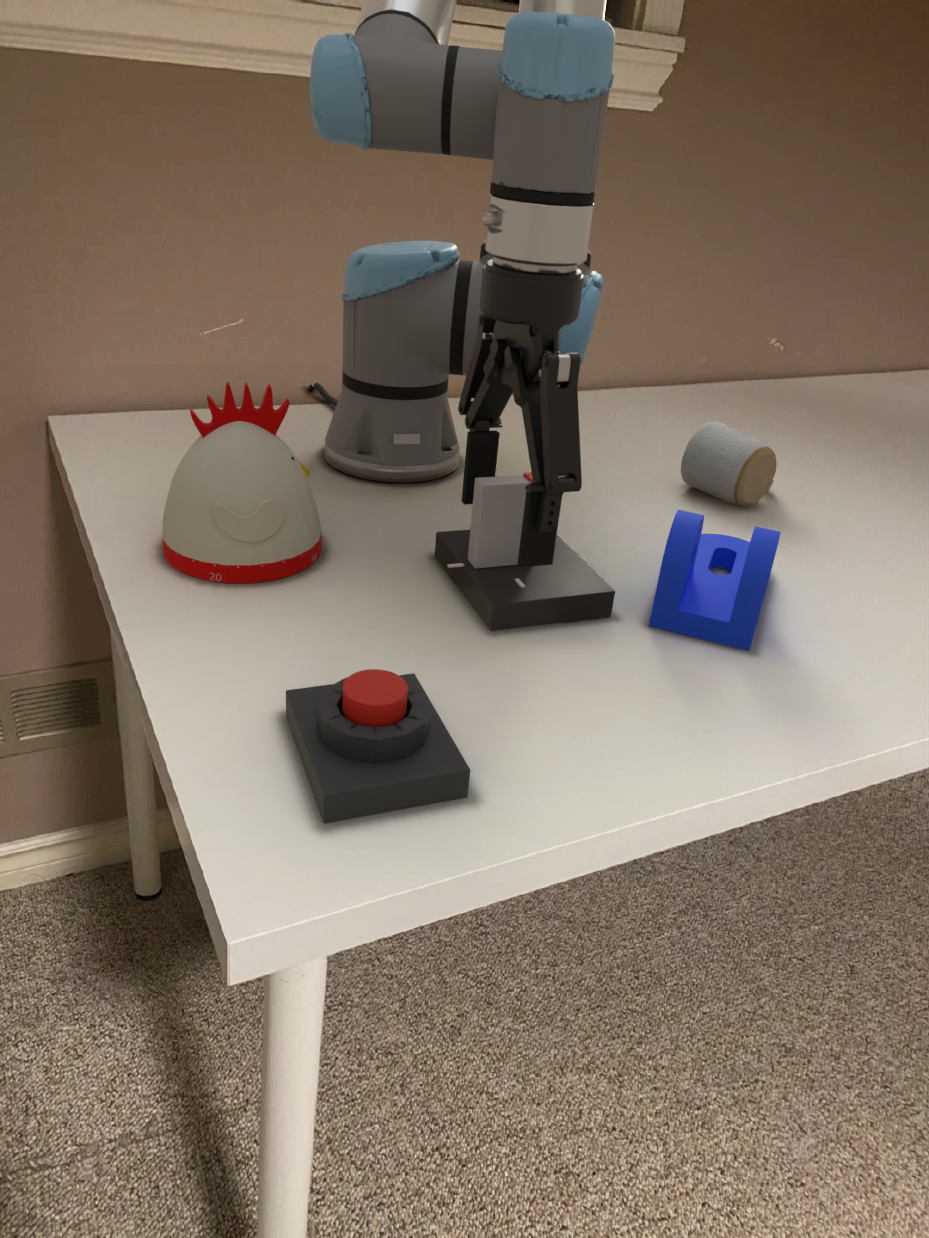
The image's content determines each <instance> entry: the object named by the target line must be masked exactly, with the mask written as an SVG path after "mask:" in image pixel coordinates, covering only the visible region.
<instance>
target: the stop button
mask: <svg viewBox="0 0 929 1238" xmlns="http://www.w3.org/2000/svg"><path fill="white" fill-rule="evenodd" d="M399 675H400V674H397V673H395V672H392V671H390V670H385V669H379V668H377V669H375V668H374V669H373V668H372V669H371V668H370V669H363V670H359V671H356V672H353V673H352V674H350V675H349V676H347V677H348V678H347V677H346V678H347V679H346V680H345V682H344V684H343V701H342V710H343V713H344V715H345V717H346V718H347V719H348V720H350V721H352V722H353V723H355V724H358V725H364V726H370V727H381V726H387V725H394V724H396V723H398V722H400V721H401V720H402V719H403V718H404V716H405V715H406V711H407V696H408V686H407V683H406V682H405V680H404V679H403V678H402V677H400V676H399Z"/></svg>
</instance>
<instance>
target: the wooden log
mask: <svg viewBox="0 0 929 1238" xmlns="http://www.w3.org/2000/svg"><path fill="white" fill-rule="evenodd" d="M680 464H681V465H680V475H681V476H680V477H681V478H682V481H683V482H684V483H685V484H686V485H688V486H689V487H691V488H694V489H696V490H698V491H701V492H703V493H705V494H707V495H709V496H713V497H715V498H718V499H720V500H722V501H725V502H726V503H729V504H732V505H735V506H740V507H748V506H750V505H753V504H755V503H756V502H758V501H760V499H761V498H762V497H763V496H764V495H765V494H766V493H768V492H769V491H770V489H771V488H772V485H774V482H775V481H774V478H775V475H776V471H777V457H776V452H774V450H773V449H772V448H771V447H769V446H768V445H767V444H765V443H764V442H762V441H760V440H758V439H756V438H753V437H751V436H749V435H747V434H745V433H743V432H741V431H739V430H737V429H735V428H733V427H731V426H728V425H726V424H724V423H722V422H721V421H718V420H717V421H716V420H713V421H709V422H706V423H704V424H703V425H701V426H700V427H699V428H698V429H697V430H696V431H695V432H694V434H693V435H692V436H691V438H690V439H689V441H688V442H687V444H686V446H685V449H684V452H683V455H682V458H681V463H680Z"/></svg>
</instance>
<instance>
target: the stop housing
mask: <svg viewBox="0 0 929 1238" xmlns="http://www.w3.org/2000/svg"><path fill="white" fill-rule="evenodd" d="M398 675H399V676H400V677H402V678H403V679H404V680H405V682H406V683H407V686H408V696H407V711H406V715H405V716H404V718H403V719H402V720H401V721H400V722H398V723H396V724H394V725H387V726H381V727H370V726H364V725H358V724H355V723H353V722H352V721H350V720H348V719H347V718H346V717H345V715H344V713H343V710H342V701H343V684H344V682H345V680H346V679H347V678H348V677H349V676H347V677H345V678H342V679H340V680H339V681H337V682H335V683H331V684H330V683H329V684H323V685H322V684H321V685H316V686H315V685H314V686H309V687H299V688H293V689H286V690H285V718H286V720H287V721H286V722H287V724H288V727H289V729H290V733H291V734H292V738H293V740H294V744H295V746H296V749H297V752H298V755H299V758H300V761H301V764H302V767H303V769H304V772H305V775H306V778H307V780H308V784H309V786H310V789H311V792H312V794H313V797H314V800H315V803H316V806H317V809H318V811H319V815H320V817H321V820H322V823H323V824H330V823H336V822H341V821H347V820H351V819H357V818H363V817H368V816H373V815H378V814H384V813H390V812H396V811H400V810H401V811H402V810H407V809H412V808H416V807H422V806H428V805H433V804H439V803H443V802H449V801H450V802H451V801H455V800H460V799H467V798H468V795H469V787H470V777H471V768H470V767H469V765H468V763H467V761H466V760H465V758H464V756H463V754H462V753H461V751H460V749H459V748H458V746H457V744H456V742H455V741H454V739H453V738H452V736H451V733H450V732H449V731H448V729H447V726H446V725H445V724H444V721H443V720H442V719H441V716H440V715H439V713H438V711H437V710H436V708H435V707H434V704H433V703H432V701H431V699H430V697H429V696H428V694H427V692H426V691H425V689H424V686H423V685H422V684H421V682H420V681H419V679H418V677H417V676H416V674H415V673H414V672H413V673H406V674H398Z"/></svg>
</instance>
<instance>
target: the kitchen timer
mask: <svg viewBox="0 0 929 1238" xmlns="http://www.w3.org/2000/svg"><path fill="white" fill-rule="evenodd" d="M224 388H225V389H224V398H223V407H222V409H221V408H220V407H219V406H218V405H217V403H216V402H215V401H214V399H213V398H212V397H211V395H209V394H207V395H206V401H207V405H208V408H209V412H210V414H211V421H210V422H204V421H202V419H200V417H199V416H198V415H197V413H196V412H195V411H194V410H193V409H192V408H190V409H189V413H190V417H191V419H192V422H193V424H194V426H195V427H196V430H197V431H198V433H199V434H200V435H199V436H198V437H197V438H196V439H195V441H194V442H193V443H192V444H191V445H190V447H189V448H188V450H187V451H186V452H185V453H184V455H183V456H182V458H181V460H180V461H179V463H178V464H177V467H176V469H175V471H174V474H173V476H172V479H171V482H170V486H169V489H168V493H167V497H166V501H165V505H164V510H163V516H162V527H161V530H162V546H163V556H164V558H165V560H166V561H167V562H168V563H169V565H170V566H171V567H173V568H174V569H176V570H177V571H179V572H181V573H183V574H185V575H187V576H191V577H194V578H197V579H200V580H204V581H211V582H217V583H225V584H254V583H265V582H271V581H276V580H279V579H280V580H281V579H284V578H286V577H290V576H294V575H297V574H299V573H301V572H302V571H305V570H306V569H308V568H311V566H312V565H313V564H314V563H315V562H316V561H317V560H318V559H320V556H321V552H322V548H323V547H322V543H323V541H322V539H323V538H322V537H323V536H322V535H323V534H322V533H323V532H322V524H321V523H322V522H321V517H320V513H319V510H318V506H317V503H316V500H315V497H314V494H313V491H312V488H311V485H310V482H309V480H308V478H309V476H310V473H311V471H310V469H309V468H308V467H307V466H306V465H304V463H302V462H301V461H300V460H299V459H298V458H297V456H296V455H295V453H294V452H293V451H292V449H291V447H290V446H288V444H287V443H286V442H285V441H284V440H283V439H282V438H281V437H280V436H278V435H277V433H278V432H279V429H280V427H281V425H282V423H283V422H284V419H285V418H286V415H287V413H288V410H289V407H290V400H289V398H286V399H285V400H284V401H283V402H282V404H281V405H280V406H279V407H278V408H277V409H274V397H273V389H272V386H271V384H270V383H268V384H267V386H266V389H265V390H264V391H265V392H264V395H263V398H262V400H261V404H260V406H259V407H258V408H257V407H255V405H254V401H253V397H252V393H251V390H250V387H249V385H248V382H247V381H245V382H244V386H243V394H242V401H241V406H240V407H237V405H236V402H235V397H234V394H233V390H232V388H231V384H230V382H229V381H227V382H226V383H225V387H224Z"/></svg>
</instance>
